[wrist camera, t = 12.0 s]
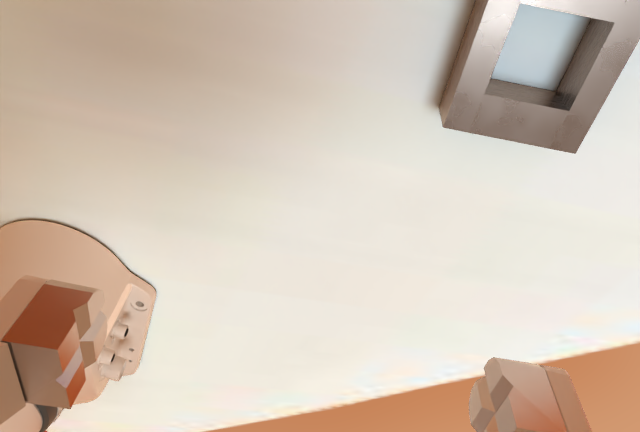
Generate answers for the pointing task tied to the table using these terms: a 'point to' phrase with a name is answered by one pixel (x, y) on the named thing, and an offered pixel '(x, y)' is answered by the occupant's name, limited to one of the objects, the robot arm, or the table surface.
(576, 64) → the rail
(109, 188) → the table surface
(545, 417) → the robot arm
